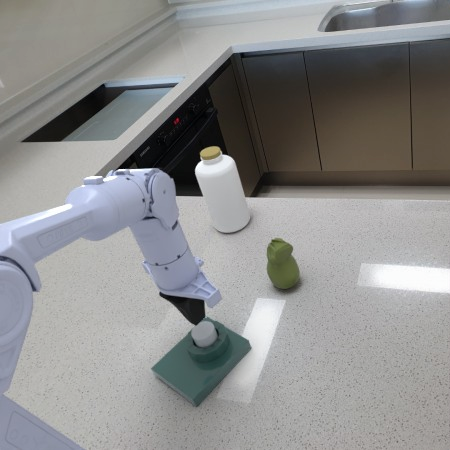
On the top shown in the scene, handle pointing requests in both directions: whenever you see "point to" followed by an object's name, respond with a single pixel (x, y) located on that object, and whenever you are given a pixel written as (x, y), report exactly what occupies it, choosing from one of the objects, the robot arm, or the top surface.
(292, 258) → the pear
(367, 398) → the top surface
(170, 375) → the green socket base
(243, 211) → the white bottle
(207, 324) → the light grey short cylinder
